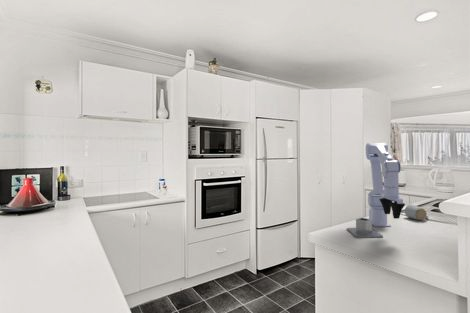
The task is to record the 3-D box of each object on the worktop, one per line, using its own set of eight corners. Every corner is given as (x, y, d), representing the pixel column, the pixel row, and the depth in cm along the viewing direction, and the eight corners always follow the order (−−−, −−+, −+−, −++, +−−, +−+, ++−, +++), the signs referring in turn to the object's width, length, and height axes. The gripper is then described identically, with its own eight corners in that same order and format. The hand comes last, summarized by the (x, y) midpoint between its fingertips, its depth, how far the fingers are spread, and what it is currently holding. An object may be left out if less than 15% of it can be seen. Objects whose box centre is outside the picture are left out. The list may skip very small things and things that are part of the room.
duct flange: (346, 229, 131) (346, 219, 131) (371, 229, 130) (370, 219, 130) (356, 237, 119) (356, 226, 119) (383, 237, 118) (382, 226, 118)
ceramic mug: (416, 221, 141) (416, 207, 141) (404, 217, 149) (404, 204, 149) (432, 220, 143) (432, 206, 142) (420, 216, 151) (420, 203, 151)
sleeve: (356, 231, 125) (355, 219, 125) (362, 229, 128) (362, 217, 128) (365, 234, 121) (365, 221, 121) (372, 232, 124) (371, 219, 124)
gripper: (374, 184, 125) (375, 212, 125) (390, 189, 110) (391, 220, 111) (389, 184, 124) (390, 212, 125) (407, 188, 110) (408, 220, 110)
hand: (391, 216), depth 118 cm, fingers open, 7 cm apart
